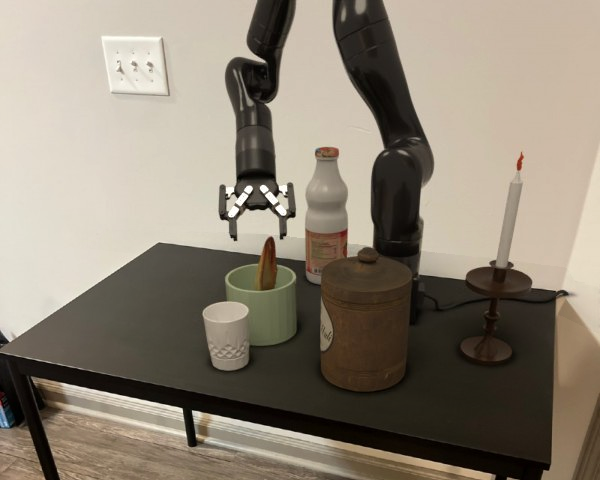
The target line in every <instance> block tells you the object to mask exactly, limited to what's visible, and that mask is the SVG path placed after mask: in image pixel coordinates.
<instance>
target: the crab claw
mask: <svg viewBox="0 0 600 480" xmlns="http://www.w3.org/2000/svg"><path fill="white" fill-rule="evenodd" d="M276 254H277V250H276V241H275V238H274V237H273V236H268V237H267V238H266V240H265V241H264V243H263V247H262V251H261V254H260V258H259V260H258V263H257V264H258V268H257V273H256V278H255V284H254V291H266V290H272V289H275V288H274V287H275V284H276V277H277V271H278V269H277V265H278V264H277V255H276Z"/></svg>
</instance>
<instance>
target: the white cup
mask: <svg viewBox="0 0 600 480" xmlns="http://www.w3.org/2000/svg"><path fill="white" fill-rule="evenodd" d="M202 319H203V324H204V330H205V337H206V342H207V347H208V351H209V354H210V360H211V365H212V366H213V367H214V368H216V369H217V370H220V371H225V372H227V371H237V370H240V369H243V368H244V367H245V366H247V365H248V364H249V361H250V345H249V309H248V308H247V306H245V305H244V304H241V303H238V302H227V301H220V302H215V303H212V304H210V305H208V306H206V307H205V308H204V309H203V310H202Z"/></svg>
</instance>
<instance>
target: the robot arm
mask: <svg viewBox="0 0 600 480" xmlns="http://www.w3.org/2000/svg"><path fill="white" fill-rule="evenodd" d="M296 13H297V0H257V1H256V3H255V7H254V9H253V13H252V17H251V20H250V23H249V27H248V29H247V32H246V33H247V34H246V38H245V42H246V46H247V48H248V50H249V51H250V52H251V53H252V54H253V55H255V56H256V57H258V58H259V59H261V60H263V61H264V62H263V61H259V60H255V59H251V58H248V57H245V56H235V57H233V58H231V59H230V60H229V61H228V62H227V65H226V67H225V71H224V85H225V90H226V94H227V96H228V99H229V102H230V105H231V108H232V112H233V115H234V117H235V146H234V147H235V148H234V150H235V151H234V152H235V153H234V154H235V156H234V157H235V158H234V159H235V182H236V183H235V185H234V186H233V187H231V186H230V187H229V186H228V187H227V186H226V184H220V185H219V187H218V210H217V212H218V216H219V220H221V221H226V222H228V234H229V237H230V239H232V241H233V242H238V240H239V239H238V219H239V218H240V216H243V214H244V213H245V212H246V211H247V210H249V212H254V211H267V209H269V211H271V212H272V214H273V215H275V216H276V217H277V218H278V229H279V240H280V241H282V240H284V238H285V237H287V236H288V223H287V221H288V220H289V219H295V218H296V216H297V206H296V196H295V187H294V183H293V182H291V181H290V182H289V181H288V182H287V184H286V185H285V184H284V185H279V183H278V182H277V164H276V163H277V162H276V158H277V155H276V146H275V141H274V129H273V113H272V110H271V108H270V107H269V106H268V104H270V103H272V102H273V101H274V100H275V99H276V97H277V96H278V94H279V90H280V82H281V81H280V79H281V66H282V61H283V60H282V59H283V54H284V51H285V50H284V49H285V46H286V44H287V42H288V38H289V35H290V32H291V30H292V27H293V24H294V22H295V17H296ZM331 27H332V28H331V29H332V36H333V39H334V42H335V45H336V49H337V52H338V55H339V58H340V61H341V63H342V67H343V70H344V72H345V74H346V76H347V79H348V80H349V82H350V83H351V85H352V86H353V89H354V90H355V91H356V93H357V94H358V96H359V98H361V100H362V101H363V103H365V105H366V107H367V108H368V110H369V111H370V114H371V115H372V116H373V119H374V121H375V123H376V126H377V130H378V132H379V135H380V139H381V142H382V146H383V150H381V151H380V152H379V153H378V155H377V156H376V157H375V159H374V162H373V164H372V168H371V175H370V207H369V208H370V211H369V213H370V219H371V223H372V226H373V228H372V229H373V230H372V231H373V232H372V248H373V249H374V250H376V251H377V252H378V254H379V257H383V258H388V259H392V260H395V261H398V262H400V263H402V264H404V265H406V266H407V267H408V268H409V269H410V270H411V272H412V290H411V300H410V316H409V324H415V323H416V317H417V307H418V306H424V302H425V298H428V299H430V300H431V301H433V303H434V307H435V309H436V310H437V311H445V310H449V309H454V308H456V307H459V306H461V305H464V304H466V303H472V302H477V301H482V300H489V299H490V300H491V297H488V296H484V295H479V296H475V297H470V298H465V299H462V300H459V301H457V302H454V303H452V304H450V305H447V306H440V305H439V304H440V301H439V299H438V298H437V297H436V296H434V295H432V294H430V293H427V292H426V289H425V282H420V267H421V257H422V246H423V237H424V227H425V221H424V218H423V217H422V216H421V215H420V214H421V213H420V210H421V194H422V189H423V188H425V186H427V185H428V184H429V182H430V181H431V179H432V178H433V175H434V172H435V157H434V153H433V150H432V148H431V145H430V142H429V140H428V137H427V135H426V133H425V131H424V128H423V126H422V124H421V121H420V118H419V116H418V114H417V111H416V108H415V105H414V102H413V100H412V96H411V92H410V87H409V85H408V80H407V77H406V74H405V70H404V67H403V66H404V65H403V64H402V60H401V57H400V53H399V50H398V44H397V42H396V38H395V33H394V30H393V28H392V24H391V21H390V18H389V15H388V12H387V9H386V6H385V3H384V0H332V4H331ZM280 194H282V196H283V198H285V199H287V205H288V208H286V209H285V207H283V205H282V204H281V203H280V201H279V200H278V199H277V197H278V196H279V195H280ZM233 195H234V196H235V197H236V199H237V200H236V201H235V202H234V204H233V206H232V208H231V209H230V210H227V209H228V201H229V200H231V199H232V196H233ZM561 294H563V295H564V296H565V297H567V296H570V294H569V292H568V291H567V290H565V289H560V290H557V291H556V292H554V293H552V294H551V295H549V296H547V297H543V298H542V297H541V298H535V297H534V298H533V297H526V296H521V297H516V298H507V299H510V300H516V301H521V302H528V303H546V302H549V301H551V300H553V299H554V298H557V296H559V295H561Z"/></svg>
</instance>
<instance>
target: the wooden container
mask: <svg viewBox="0 0 600 480" xmlns="http://www.w3.org/2000/svg"><path fill="white" fill-rule="evenodd" d="M411 290H412V272H411V270H410V269H409V268H408V267H407V266H406V265H404V264H402V263H400V262H398V261H395V260H392V259H388V258H383V257H379V254H378V252H377V251H376V250H374V249H373V247H370V246H365V247H364V246H363V247H362V248H361V249H360V250H358V251H357V254H356V255H355V256H354V255H353V256H347V257H346V258H341V259H338V260H335V261H332V262H330V263H328V264H327V265H326V266H325V267H324V268H323V269H322V272H321V285H320V325H319V326H320V334H319V335H320V337H319V339H320V372H321V374H322V376H323V377H324V379H325V380H327V382H329V383H330V384H331V385H334V386H336V387H338V388H340V389H344V390H347V391H352V392H359V393H360V392H363V393H367V392H376V391H383V390H386V389H389V388H392V387H394V386H395V385H396V384H399V382H400V381H402V380H403V378H404V377H405V374H406V368H407V357H408V347H409V332H410V330H409V329H410V323H409V316H410V300H411Z"/></svg>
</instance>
